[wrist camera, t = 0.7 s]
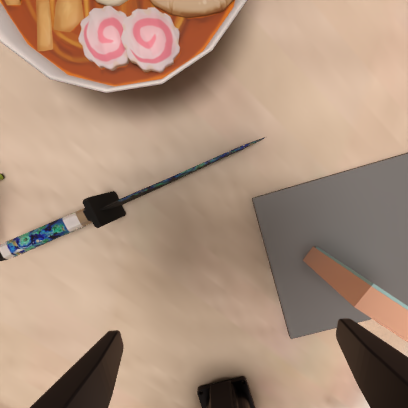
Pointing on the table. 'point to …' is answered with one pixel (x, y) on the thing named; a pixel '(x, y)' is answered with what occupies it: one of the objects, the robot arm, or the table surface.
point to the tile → (360, 292)
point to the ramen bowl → (114, 38)
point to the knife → (89, 214)
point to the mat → (337, 239)
